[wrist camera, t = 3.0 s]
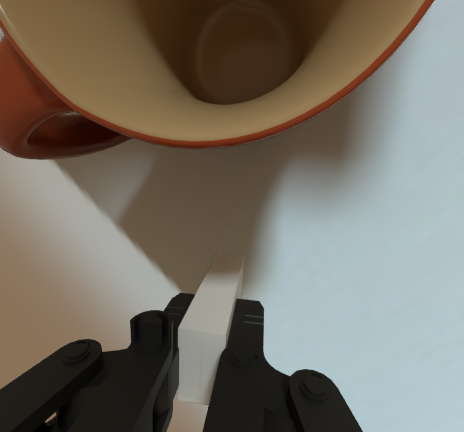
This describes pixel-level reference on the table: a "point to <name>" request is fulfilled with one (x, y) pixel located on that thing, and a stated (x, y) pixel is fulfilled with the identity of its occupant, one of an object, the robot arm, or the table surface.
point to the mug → (183, 68)
